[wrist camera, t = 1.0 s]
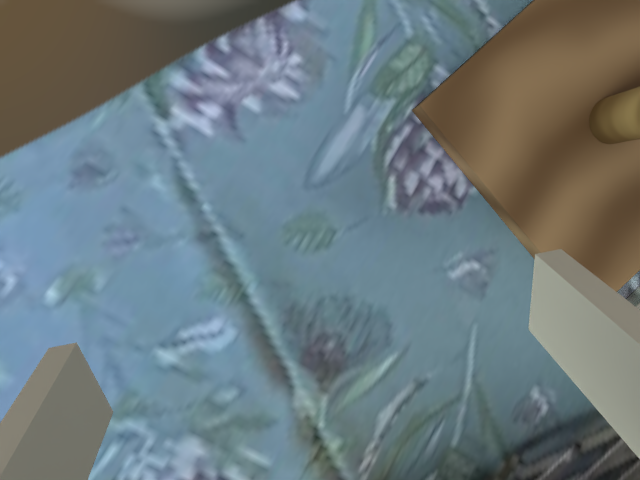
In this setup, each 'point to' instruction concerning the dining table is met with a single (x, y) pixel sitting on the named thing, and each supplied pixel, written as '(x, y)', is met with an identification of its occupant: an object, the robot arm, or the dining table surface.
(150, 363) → the dining table surface
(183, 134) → the dining table surface
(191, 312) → the dining table surface
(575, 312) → the robot arm
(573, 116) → the post board
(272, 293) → the dining table surface
